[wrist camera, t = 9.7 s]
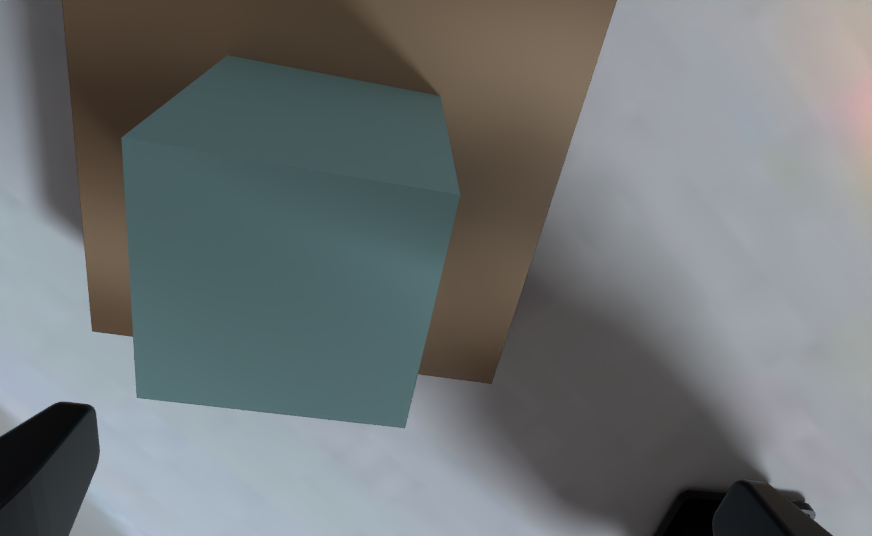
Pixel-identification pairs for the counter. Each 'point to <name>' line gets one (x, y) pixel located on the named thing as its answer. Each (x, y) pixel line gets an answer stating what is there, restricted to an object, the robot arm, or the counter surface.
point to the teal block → (287, 242)
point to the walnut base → (371, 62)
